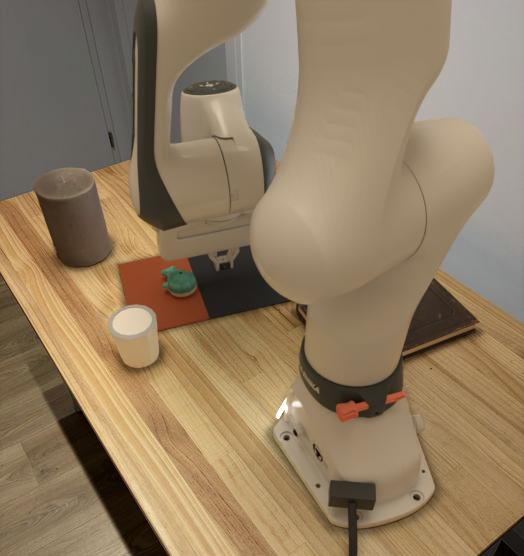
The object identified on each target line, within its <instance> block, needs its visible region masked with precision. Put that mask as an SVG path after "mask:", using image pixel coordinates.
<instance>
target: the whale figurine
mask: <svg viewBox="0 0 524 556" xmlns="http://www.w3.org/2000/svg"><path fill="white" fill-rule="evenodd" d="M161 275H163V276H165V277H167V280H168V282H166V283H164V284H163V285H162V287H163V288H164V289H166V290H169V291H170V293H171V294H172V295H174V296H176V297H186V296H188V295H191V294H192V293H193V292H194V291H195V290H196V288H197V282H196V278H195V276H194V274H193V272H189V271H185V270H179V269H176V267H175V266H171V267H169V268H167V269H164V270H162V271H161Z"/></svg>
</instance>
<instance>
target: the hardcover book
mask: <svg viewBox="0 0 524 556" xmlns="http://www.w3.org/2000/svg"><path fill="white" fill-rule="evenodd" d="M307 306H308V304H307V305H305V304H299V303H296V305H295V311H296V313H297V315H298V316H299V318H300V319H301V320H302V322H303V323H304V324H305V325H306V319H307ZM479 323H480V320H479V319H478V318H477V317H476V316H475V315H474V314H473V313H472V312H470V310H469V309H468V308H467V307H465V306H464V304H462V303H461V302H460V301H459V300H458V298H456V297H455V296H454V295H453V293H451V292H450V291H449V290H448V289H447V288H445V286H443V285H442V284H441V283H440V281H438V280H437V278H435V277H434V278H433V280H432V281H431V283H430V285H429V287H428V288H427V290H426V292H425V293H424V295H423V297H422V299H421V300H420V302H419V304H418V306H417V308H416V310H415V312H414V315H413V317H412V320H411V322H410V326H409V329H408V332H407V336H406V339H405V342H404V346H403V349H402V354H403V361H404V360H406V359H409V358H411V357H413V356H417V355H418V354H419V355H420V354H421V353H424V352H427V351H430V350H432V349H435V348H436V347H439V346H442V345H444V344H447V343H449V342H452V341H455V340H457V339H460V338H462V337H465V336H467V335H469V334H472V333H475V332H476V331H477V329H476V328H475V327H476V325H477V324H479Z"/></svg>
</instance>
